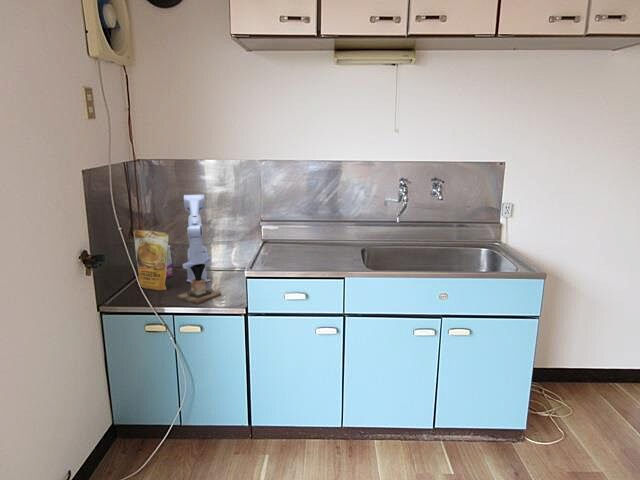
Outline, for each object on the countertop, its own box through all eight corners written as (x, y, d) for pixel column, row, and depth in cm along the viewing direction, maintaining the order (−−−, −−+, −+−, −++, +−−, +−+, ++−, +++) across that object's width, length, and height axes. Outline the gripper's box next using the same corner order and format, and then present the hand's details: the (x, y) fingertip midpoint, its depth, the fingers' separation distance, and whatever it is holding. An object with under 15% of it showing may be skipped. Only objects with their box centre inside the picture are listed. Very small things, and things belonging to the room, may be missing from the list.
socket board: (177, 297, 218) (176, 293, 217) (201, 289, 229) (201, 285, 228) (197, 304, 210) (196, 299, 209) (221, 295, 221) (221, 291, 220)
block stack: (191, 294, 219) (190, 279, 217) (199, 291, 222) (198, 277, 220) (198, 296, 216) (197, 281, 214) (205, 293, 219) (205, 279, 218)
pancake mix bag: (142, 282, 238) (137, 228, 231) (174, 287, 231) (169, 231, 225) (133, 287, 232) (127, 231, 225) (165, 292, 225) (160, 234, 218)
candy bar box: (167, 274, 251) (164, 244, 247) (173, 275, 249) (171, 245, 245) (149, 280, 242) (146, 249, 238) (156, 281, 240) (153, 250, 236)
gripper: (189, 256, 206) (191, 285, 209) (214, 249, 217) (216, 277, 221) (178, 253, 210) (181, 282, 213) (204, 247, 221) (206, 274, 225)
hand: (198, 280), depth 217 cm, fingers closed, pressing on block stack
